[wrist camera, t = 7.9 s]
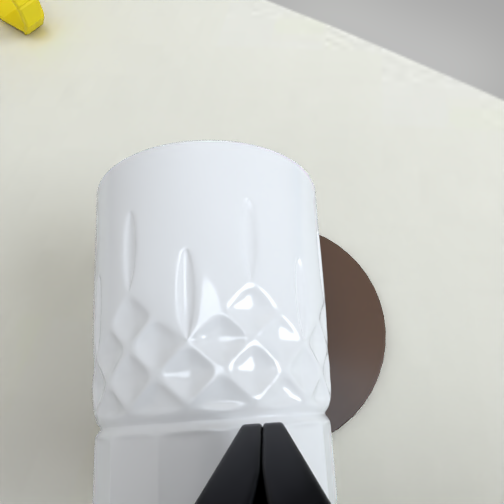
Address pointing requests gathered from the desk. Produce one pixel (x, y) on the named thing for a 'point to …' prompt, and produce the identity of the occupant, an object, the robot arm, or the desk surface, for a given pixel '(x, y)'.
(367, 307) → the coaster
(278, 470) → the robot arm
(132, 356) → the white cup
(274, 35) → the desk surface
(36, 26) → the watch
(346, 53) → the desk surface
